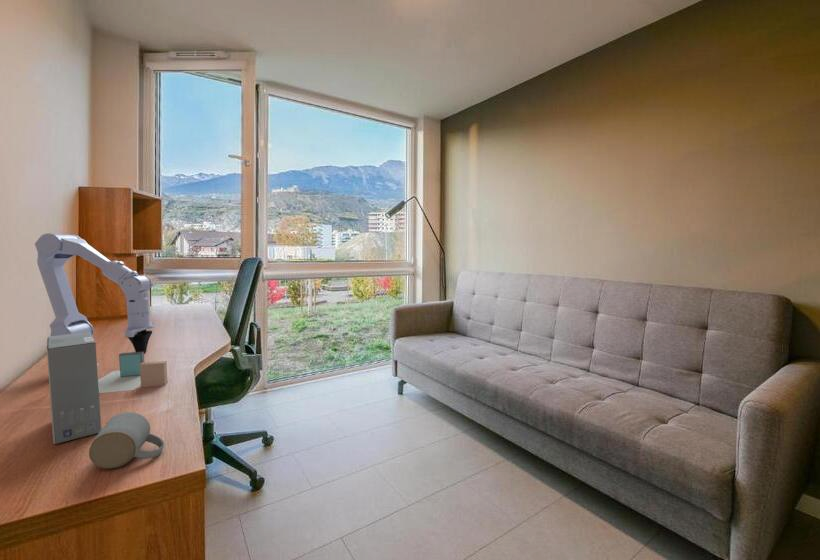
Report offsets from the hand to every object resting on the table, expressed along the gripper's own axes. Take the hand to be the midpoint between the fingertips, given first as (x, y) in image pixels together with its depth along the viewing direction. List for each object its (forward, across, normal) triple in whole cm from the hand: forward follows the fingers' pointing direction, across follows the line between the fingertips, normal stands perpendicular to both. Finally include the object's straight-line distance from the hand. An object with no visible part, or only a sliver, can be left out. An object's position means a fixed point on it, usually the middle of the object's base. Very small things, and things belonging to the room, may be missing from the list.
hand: (141, 354), depth 120 cm
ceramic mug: (+6, -57, -21) cm, 61 cm away
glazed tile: (+5, -6, 0) cm, 8 cm away
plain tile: (+5, -18, -10) cm, 21 cm away
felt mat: (+5, -10, +1) cm, 12 cm away
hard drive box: (+6, -41, -3) cm, 41 cm away
